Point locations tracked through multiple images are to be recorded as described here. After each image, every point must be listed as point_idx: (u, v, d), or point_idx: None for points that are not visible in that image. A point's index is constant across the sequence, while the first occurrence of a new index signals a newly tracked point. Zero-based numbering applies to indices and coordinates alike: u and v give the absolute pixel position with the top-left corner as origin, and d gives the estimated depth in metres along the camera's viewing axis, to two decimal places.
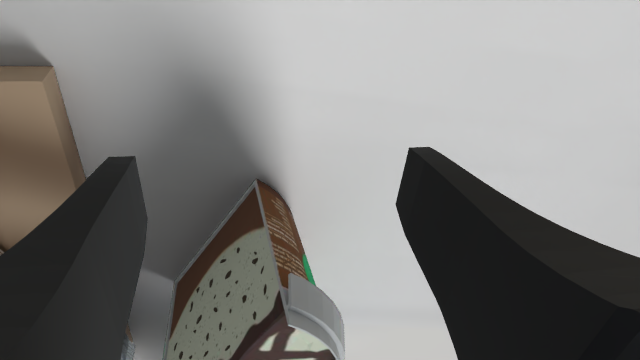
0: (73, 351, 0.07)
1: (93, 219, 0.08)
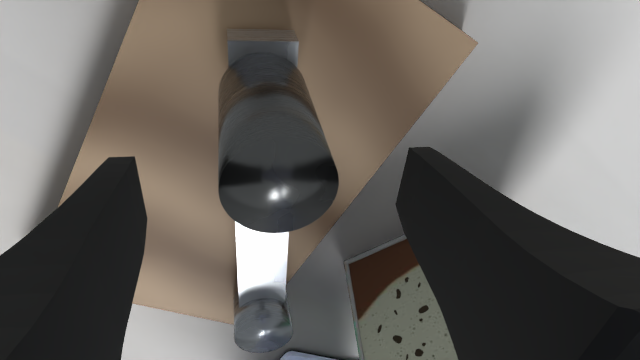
0: (73, 351, 0.07)
1: (93, 219, 0.08)
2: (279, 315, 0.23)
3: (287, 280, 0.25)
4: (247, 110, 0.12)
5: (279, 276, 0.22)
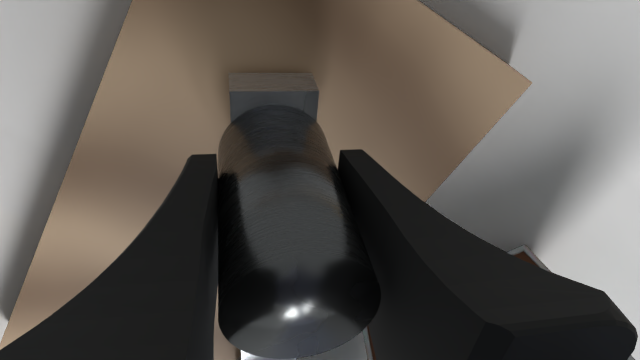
0: (203, 337, 0.07)
1: (202, 213, 0.08)
2: None
3: None
4: (256, 200, 0.09)
5: None
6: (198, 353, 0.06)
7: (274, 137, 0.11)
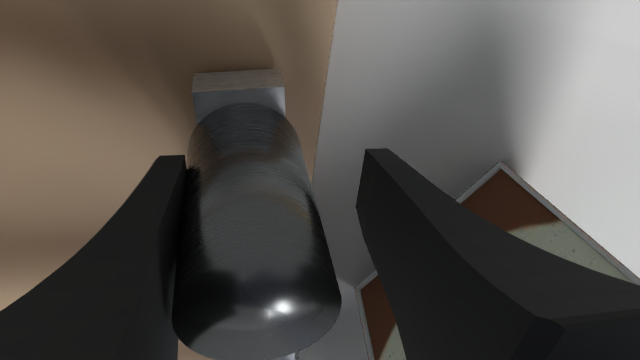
0: (153, 342, 0.07)
1: (160, 215, 0.08)
2: None
3: None
4: (210, 204, 0.09)
5: None
6: None
7: (235, 137, 0.11)
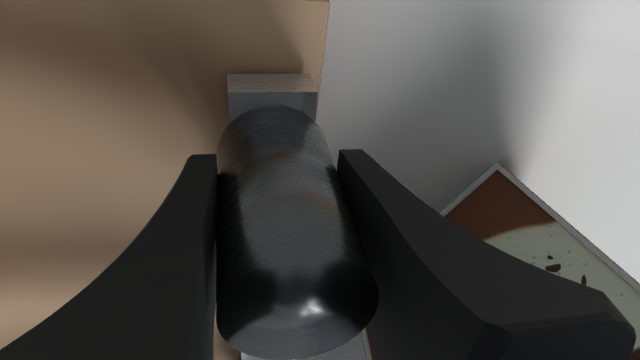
0: (203, 337, 0.07)
1: (202, 213, 0.08)
2: None
3: None
4: (254, 202, 0.09)
5: None
6: (198, 353, 0.06)
7: (272, 138, 0.11)
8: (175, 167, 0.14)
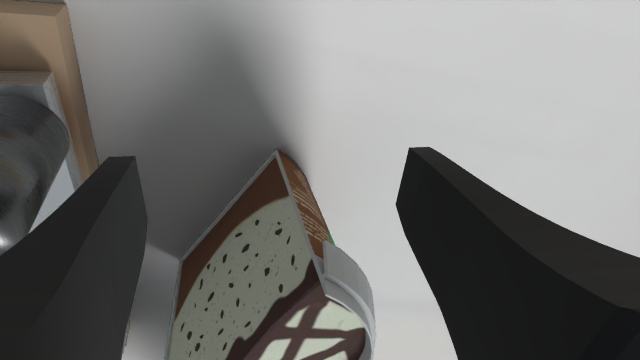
0: (73, 351, 0.07)
1: (93, 219, 0.08)
2: None
3: None
4: None
5: None
6: None
7: None
8: None
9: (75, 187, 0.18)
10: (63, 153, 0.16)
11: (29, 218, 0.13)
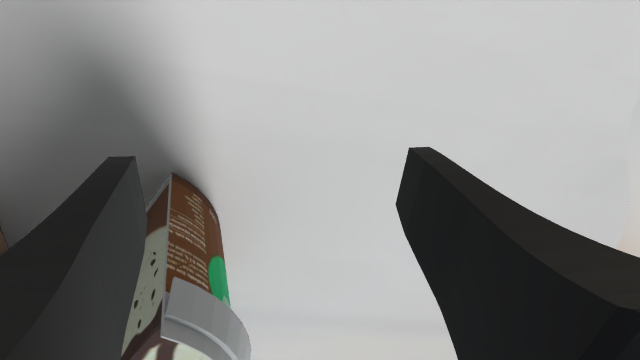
0: (73, 351, 0.07)
1: (93, 219, 0.08)
2: None
3: None
4: None
5: None
6: None
7: None
8: None
9: None
10: None
11: None
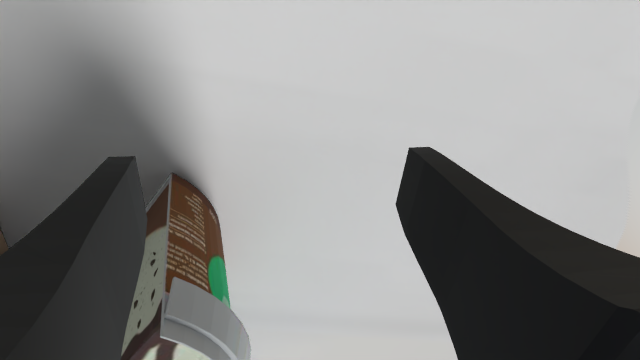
0: (73, 351, 0.07)
1: (93, 219, 0.08)
2: None
3: None
4: None
5: None
6: None
7: None
8: None
9: None
10: None
11: None
